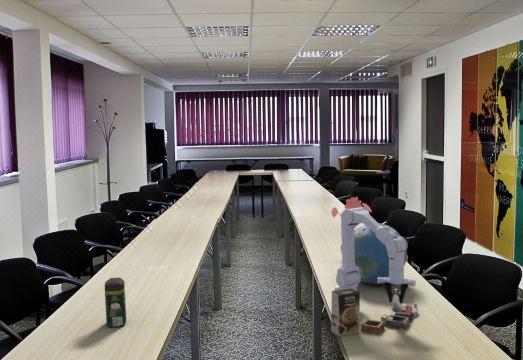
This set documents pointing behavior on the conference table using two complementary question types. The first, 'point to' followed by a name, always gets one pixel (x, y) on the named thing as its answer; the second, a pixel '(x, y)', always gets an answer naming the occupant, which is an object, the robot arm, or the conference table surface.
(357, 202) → the figurine
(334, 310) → the coffee box
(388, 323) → the block
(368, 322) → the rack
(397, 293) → the silver knobbed cylinder
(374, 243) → the globe
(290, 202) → the conference table surface
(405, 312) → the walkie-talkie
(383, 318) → the key
